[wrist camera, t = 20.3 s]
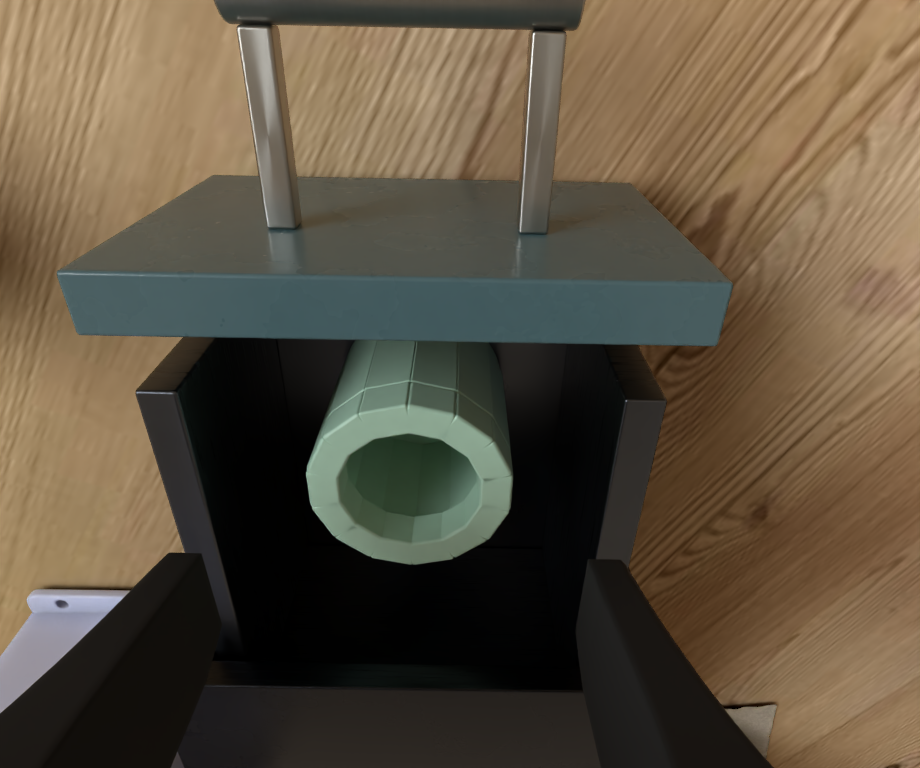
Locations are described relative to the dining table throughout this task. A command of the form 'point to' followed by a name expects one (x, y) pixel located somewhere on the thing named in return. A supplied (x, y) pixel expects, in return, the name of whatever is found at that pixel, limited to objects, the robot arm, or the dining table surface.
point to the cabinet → (389, 716)
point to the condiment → (755, 724)
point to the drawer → (400, 319)
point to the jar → (414, 450)
